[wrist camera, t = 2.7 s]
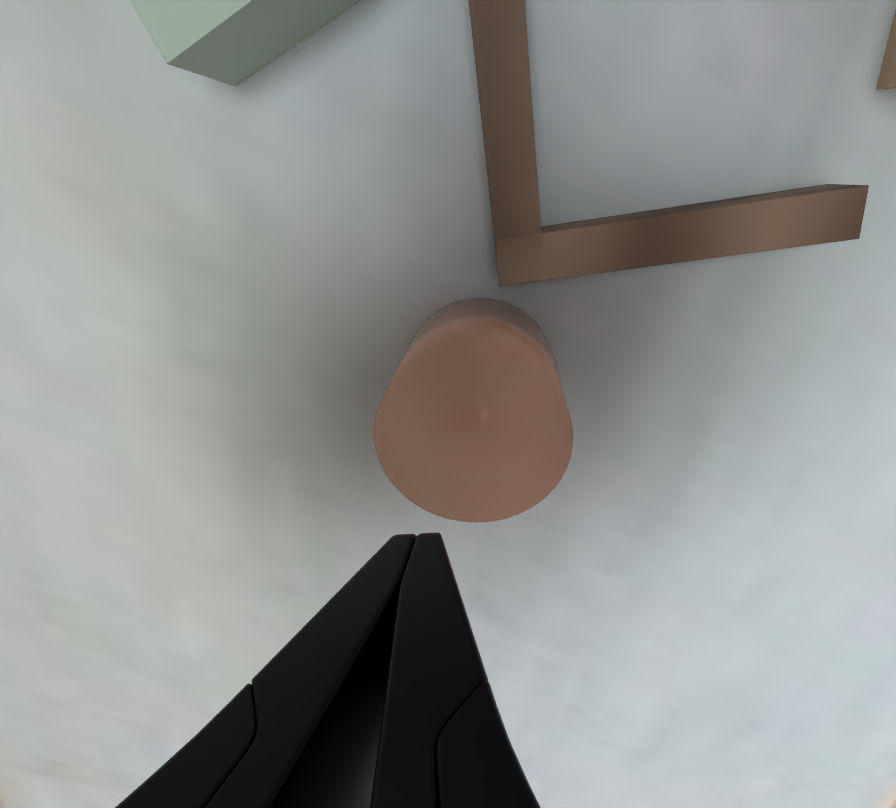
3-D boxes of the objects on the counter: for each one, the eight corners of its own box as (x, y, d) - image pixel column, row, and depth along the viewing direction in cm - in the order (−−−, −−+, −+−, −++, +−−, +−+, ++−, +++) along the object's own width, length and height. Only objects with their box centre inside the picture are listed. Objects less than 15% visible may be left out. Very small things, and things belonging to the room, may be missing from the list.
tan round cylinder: (548, 288, 19) (567, 335, 13) (557, 428, 21) (577, 516, 16) (394, 308, 20) (353, 360, 14) (420, 440, 22) (394, 527, 17)
